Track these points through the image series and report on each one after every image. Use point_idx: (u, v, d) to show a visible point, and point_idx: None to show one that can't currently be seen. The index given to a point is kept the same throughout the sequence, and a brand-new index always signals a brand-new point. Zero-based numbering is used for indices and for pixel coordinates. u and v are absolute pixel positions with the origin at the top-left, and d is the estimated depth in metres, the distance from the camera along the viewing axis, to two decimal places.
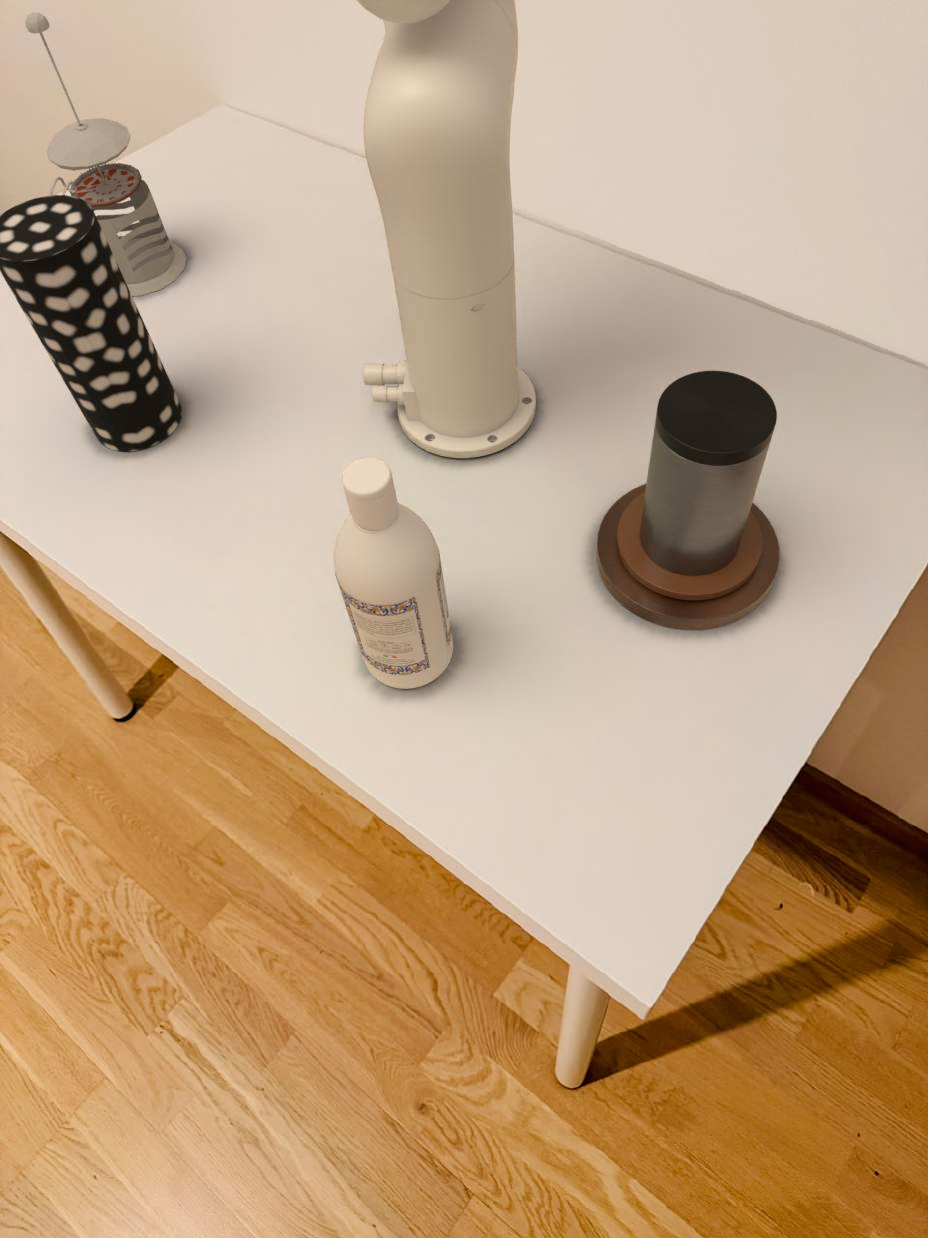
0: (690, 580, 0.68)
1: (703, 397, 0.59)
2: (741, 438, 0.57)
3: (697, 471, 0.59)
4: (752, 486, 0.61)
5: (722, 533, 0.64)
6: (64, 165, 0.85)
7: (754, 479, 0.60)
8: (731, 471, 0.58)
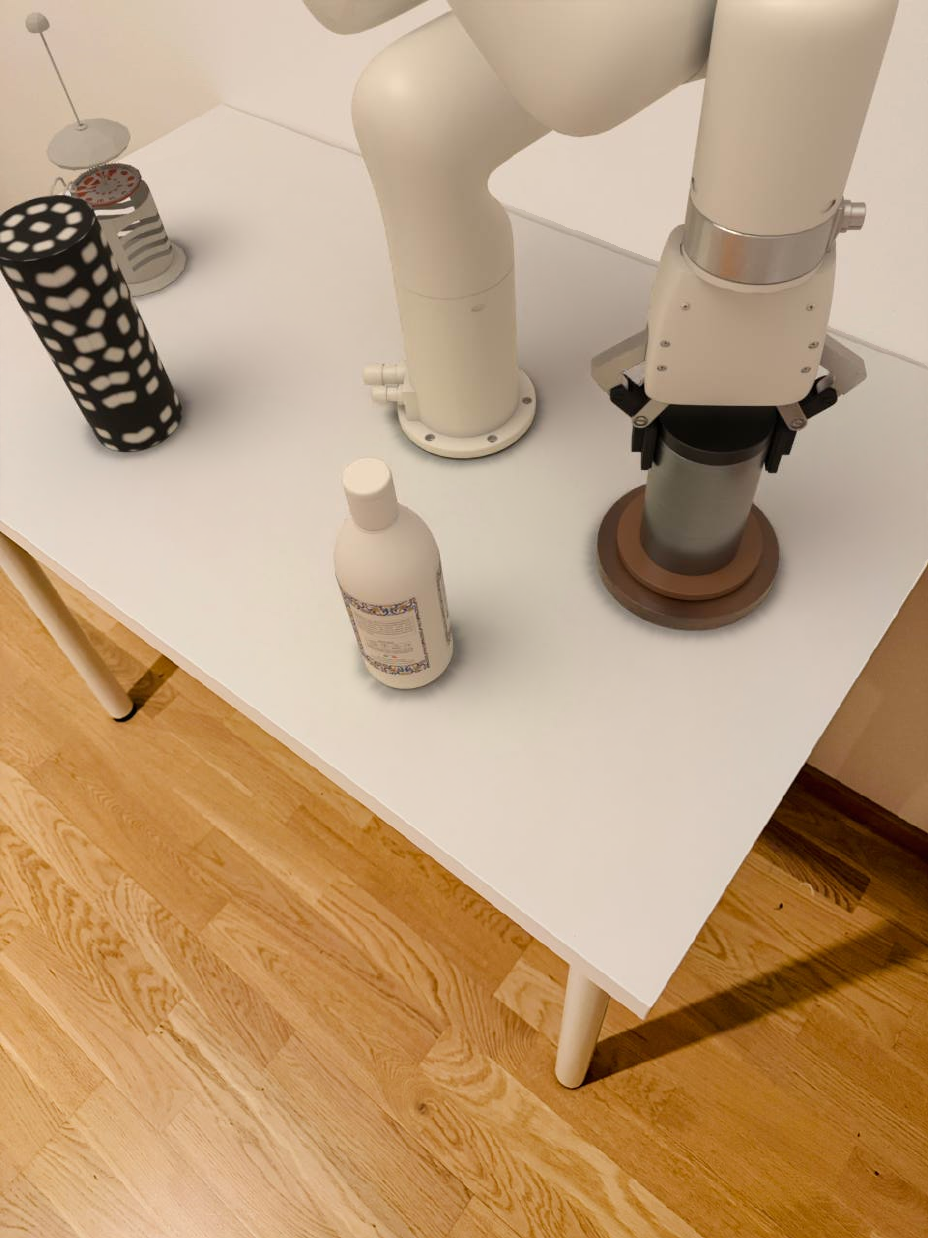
0: (690, 580, 0.68)
1: None
2: (741, 439, 0.57)
3: (697, 471, 0.59)
4: (752, 486, 0.61)
5: (722, 533, 0.64)
6: (64, 165, 0.85)
7: (754, 479, 0.60)
8: (731, 471, 0.58)
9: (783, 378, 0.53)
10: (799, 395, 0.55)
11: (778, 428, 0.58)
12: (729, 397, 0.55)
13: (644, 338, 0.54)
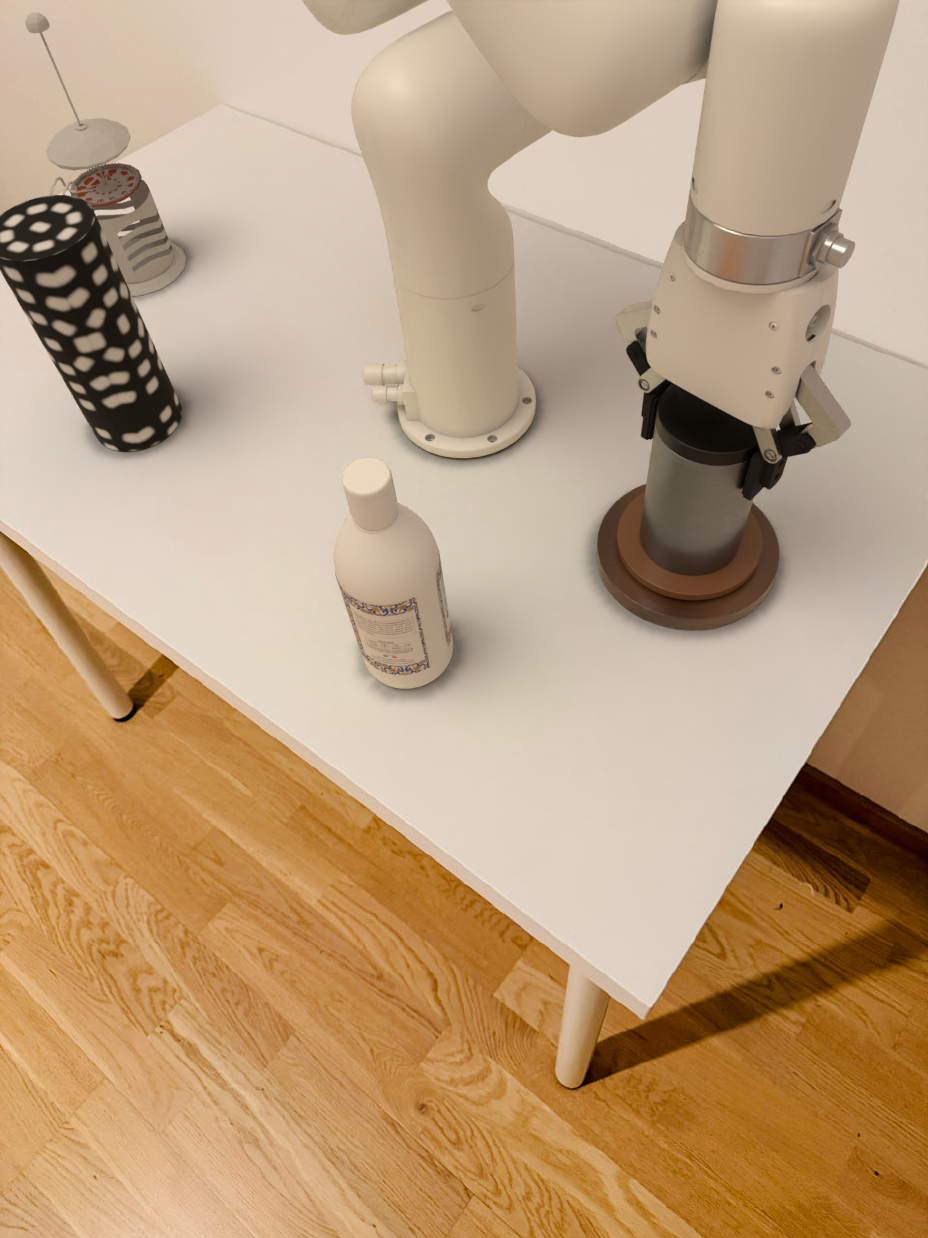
0: (661, 572, 0.68)
1: None
2: (718, 442, 0.57)
3: (670, 459, 0.59)
4: (729, 499, 0.61)
5: (694, 536, 0.64)
6: (64, 165, 0.85)
7: (731, 492, 0.60)
8: (699, 470, 0.58)
9: (749, 394, 0.53)
10: (765, 421, 0.54)
11: (757, 453, 0.57)
12: (705, 393, 0.55)
13: None
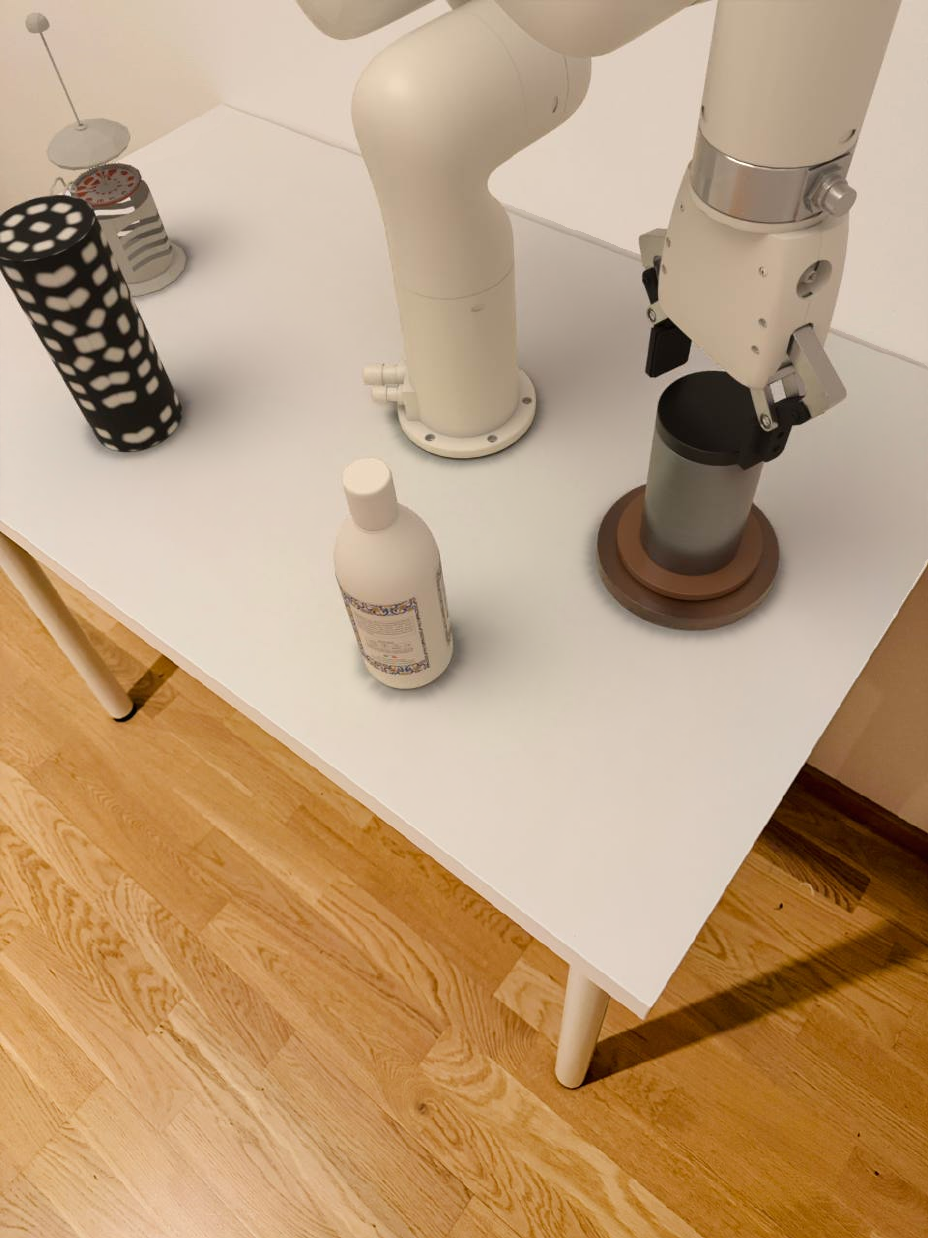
0: (647, 563, 0.69)
1: (720, 395, 0.59)
2: (703, 440, 0.57)
3: (660, 447, 0.60)
4: (711, 501, 0.61)
5: (677, 532, 0.64)
6: (64, 165, 0.85)
7: (713, 494, 0.60)
8: (682, 464, 0.59)
9: (738, 346, 0.50)
10: (750, 379, 0.51)
11: None
12: (702, 341, 0.53)
13: None
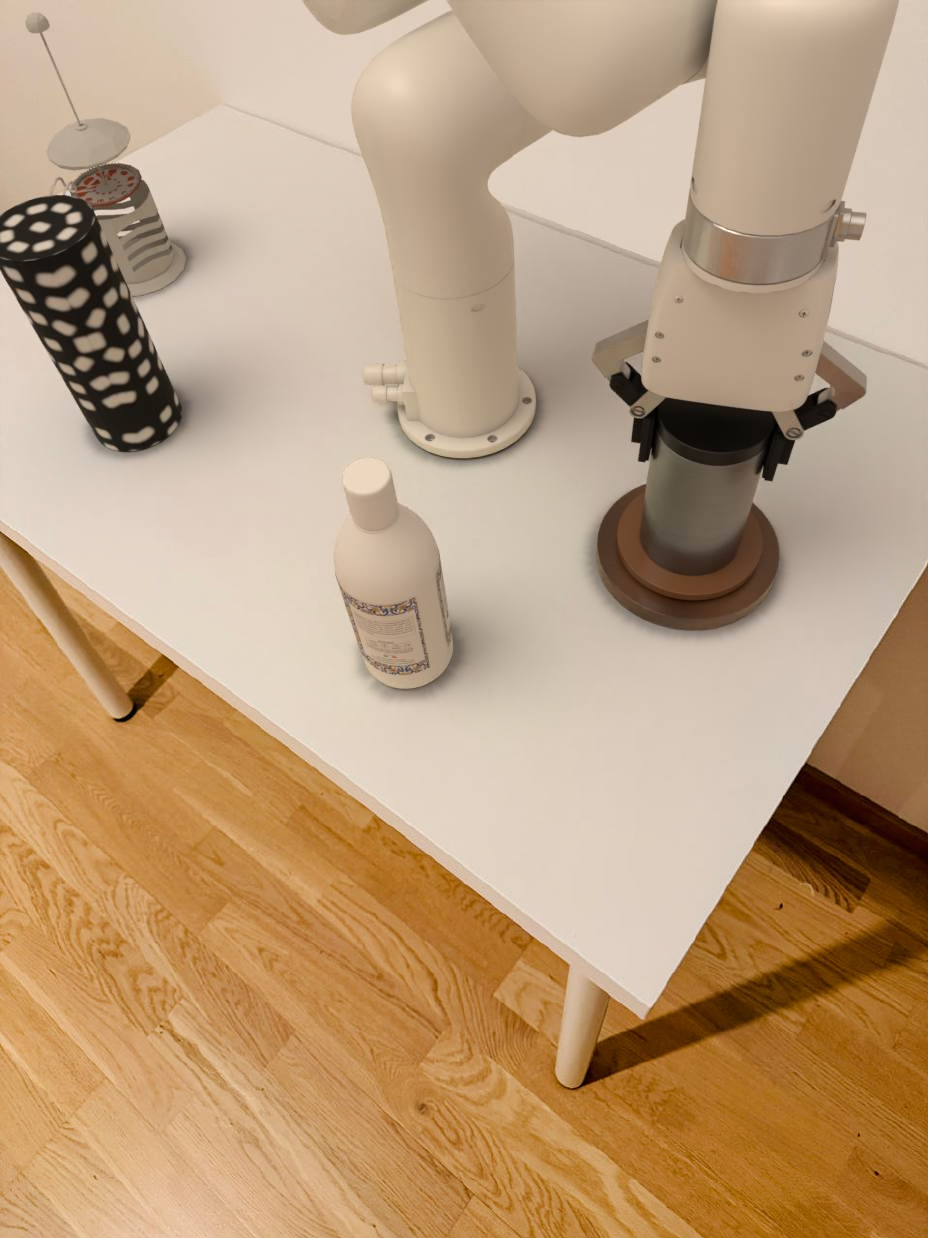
0: (647, 563, 0.69)
1: None
2: (703, 440, 0.57)
3: (660, 447, 0.60)
4: (711, 501, 0.61)
5: (677, 532, 0.64)
6: (64, 165, 0.85)
7: (713, 494, 0.60)
8: (682, 464, 0.59)
9: (776, 384, 0.53)
10: (793, 403, 0.54)
11: (775, 435, 0.58)
12: (722, 397, 0.55)
13: (645, 328, 0.55)
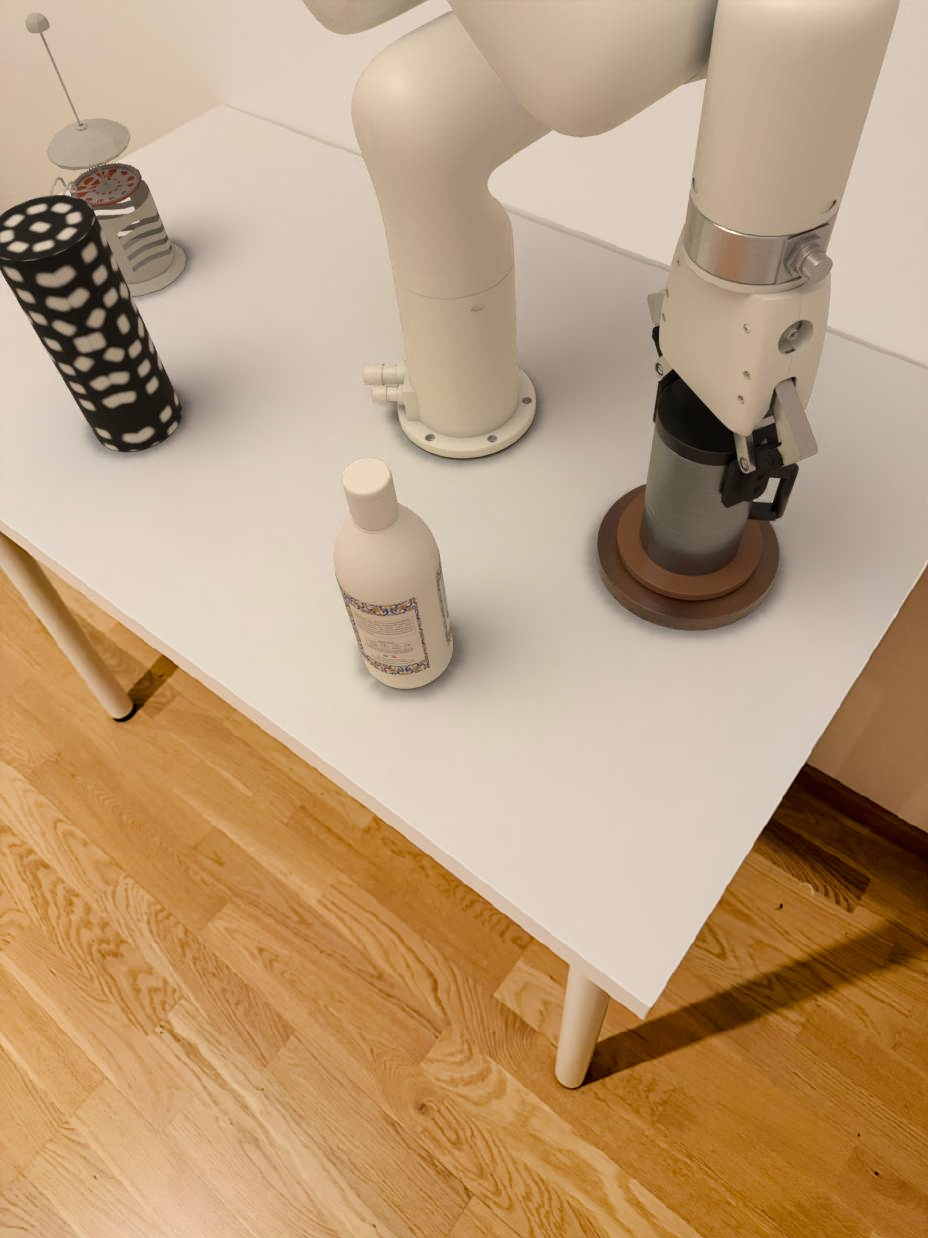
0: (633, 531, 0.70)
1: None
2: (676, 423, 0.58)
3: None
4: (669, 489, 0.61)
5: (648, 508, 0.66)
6: (64, 165, 0.85)
7: (671, 482, 0.61)
8: (656, 437, 0.60)
9: (726, 395, 0.53)
10: (737, 426, 0.54)
11: (737, 460, 0.57)
12: (696, 386, 0.56)
13: None
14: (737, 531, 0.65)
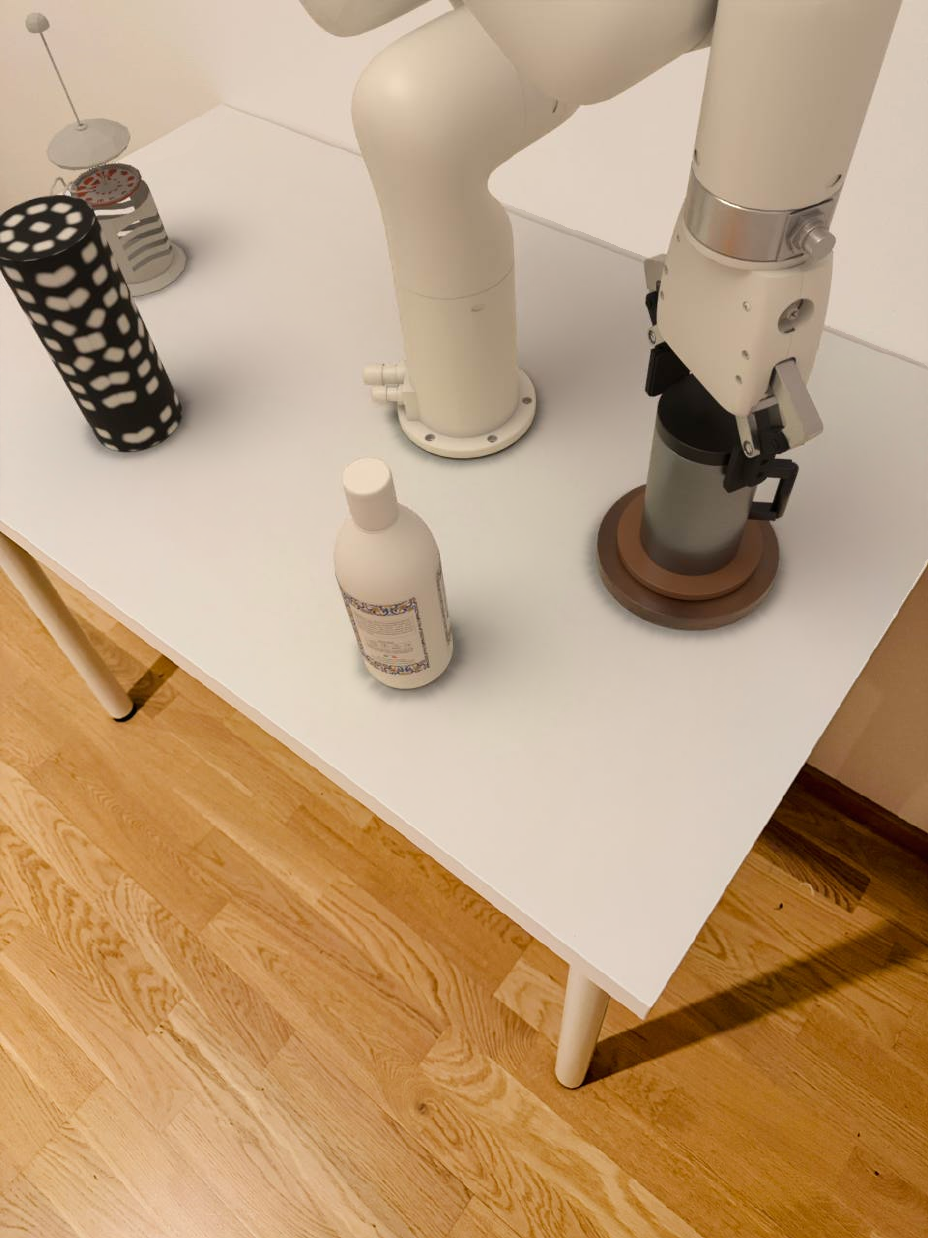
0: (633, 531, 0.70)
1: None
2: (676, 423, 0.58)
3: None
4: (670, 489, 0.61)
5: (648, 508, 0.66)
6: (64, 165, 0.85)
7: (671, 482, 0.61)
8: (656, 436, 0.60)
9: (723, 375, 0.52)
10: (734, 407, 0.53)
11: None
12: (694, 366, 0.55)
13: None
14: (737, 531, 0.65)
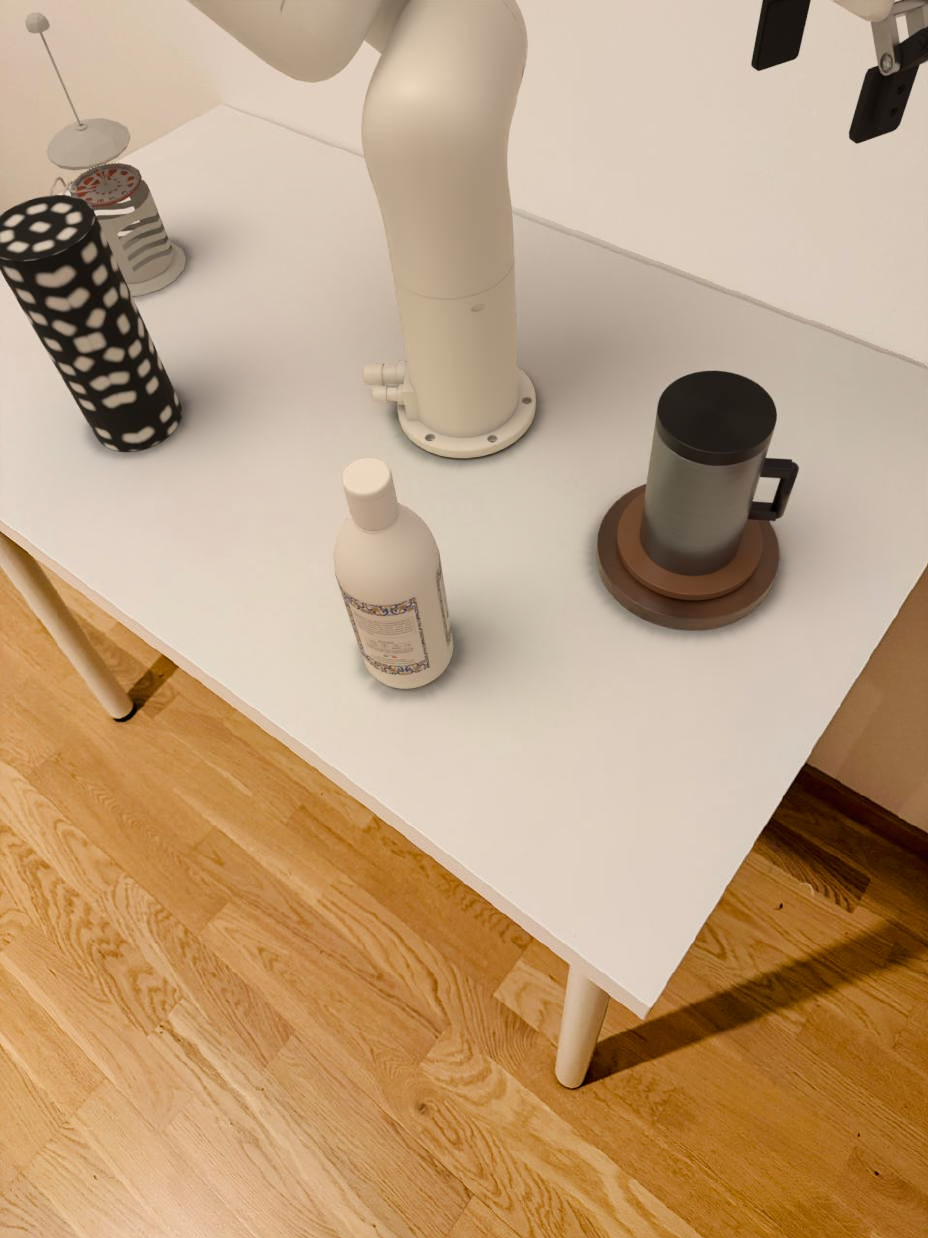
0: (633, 531, 0.70)
1: (734, 402, 0.59)
2: (676, 423, 0.58)
3: None
4: (670, 489, 0.61)
5: (648, 508, 0.66)
6: (64, 165, 0.85)
7: (671, 482, 0.61)
8: (656, 436, 0.60)
9: None
10: (874, 4, 0.47)
11: None
12: None
13: None
14: (737, 531, 0.65)
